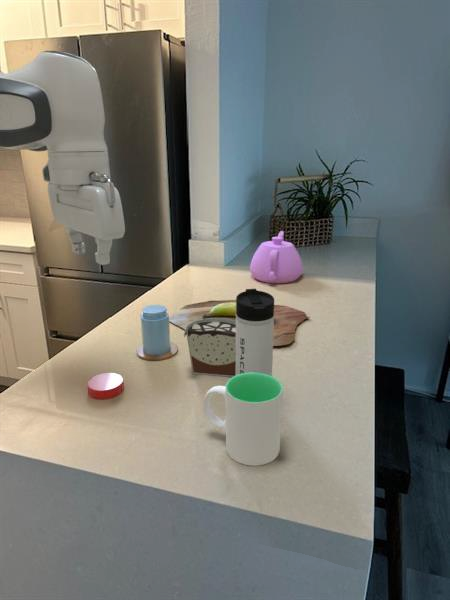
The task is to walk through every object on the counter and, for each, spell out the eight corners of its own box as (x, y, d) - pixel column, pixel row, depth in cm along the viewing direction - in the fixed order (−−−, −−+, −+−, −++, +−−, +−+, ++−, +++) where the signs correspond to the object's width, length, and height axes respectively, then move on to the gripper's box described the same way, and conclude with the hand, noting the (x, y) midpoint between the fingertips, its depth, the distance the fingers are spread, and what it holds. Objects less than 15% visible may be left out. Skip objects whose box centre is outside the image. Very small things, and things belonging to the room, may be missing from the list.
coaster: (136, 362, 90) (136, 360, 90) (136, 344, 98) (136, 342, 98) (179, 358, 91) (179, 356, 91) (176, 340, 100) (176, 338, 99)
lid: (130, 390, 80) (129, 382, 79) (97, 403, 76) (96, 394, 75) (114, 377, 84) (113, 369, 84) (82, 388, 80) (81, 380, 80)
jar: (142, 356, 91) (139, 315, 88) (143, 344, 97) (139, 305, 94) (171, 354, 92) (169, 313, 89) (169, 342, 98) (167, 303, 94)
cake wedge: (250, 363, 89) (251, 318, 86) (246, 378, 83) (247, 331, 80) (192, 358, 91) (191, 315, 88) (185, 373, 86) (183, 326, 82)
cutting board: (315, 310, 117) (316, 297, 116) (293, 353, 93) (293, 337, 92) (197, 296, 129) (197, 283, 128) (151, 330, 105) (150, 316, 104)
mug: (193, 450, 64) (190, 389, 60) (215, 419, 71) (214, 363, 67) (270, 471, 60) (273, 407, 56) (285, 437, 67) (288, 378, 63)
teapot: (300, 288, 135) (302, 245, 130) (244, 285, 138) (245, 243, 133) (303, 267, 158) (306, 230, 153) (255, 265, 161) (256, 228, 156)
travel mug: (265, 389, 80) (268, 287, 73) (275, 410, 73) (279, 300, 67) (232, 393, 79) (232, 289, 72) (239, 414, 72) (240, 302, 66)
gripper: (131, 173, 61) (138, 267, 66) (74, 168, 76) (84, 245, 81) (89, 175, 57) (100, 275, 62) (38, 169, 72) (50, 250, 77)
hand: (90, 258), depth 71 cm, fingers open, 8 cm apart
